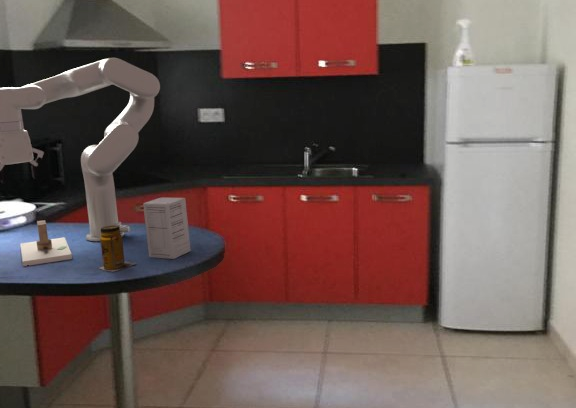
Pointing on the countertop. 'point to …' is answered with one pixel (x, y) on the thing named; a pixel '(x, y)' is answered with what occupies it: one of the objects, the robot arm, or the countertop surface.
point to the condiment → (112, 249)
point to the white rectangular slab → (38, 256)
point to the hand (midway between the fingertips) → (19, 180)
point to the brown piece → (43, 237)
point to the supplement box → (167, 227)
